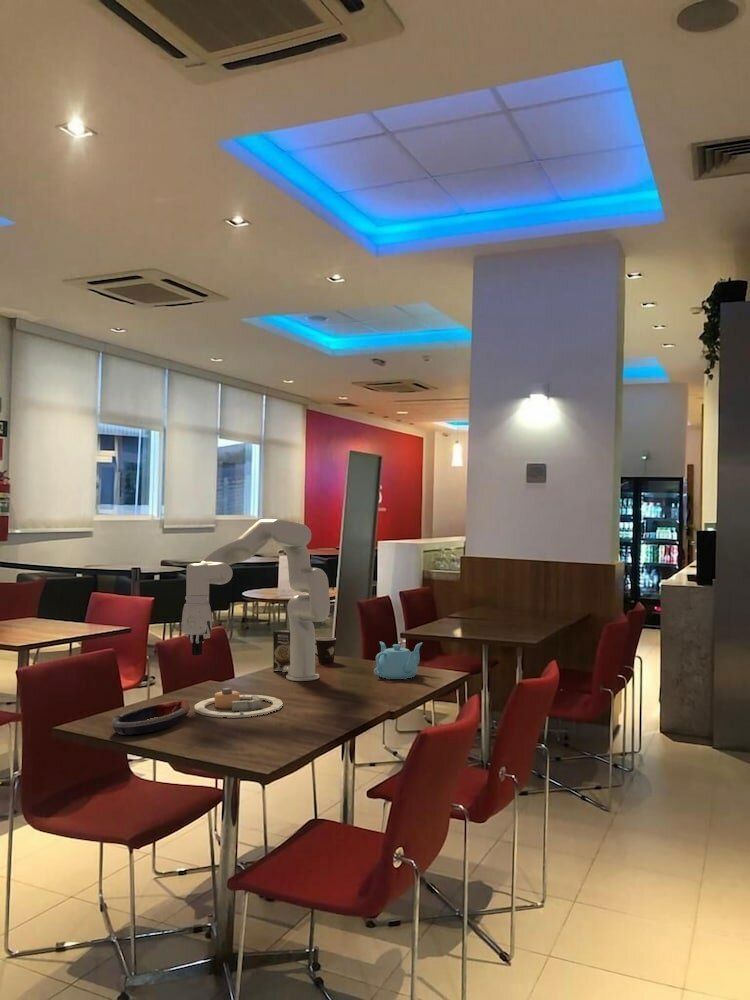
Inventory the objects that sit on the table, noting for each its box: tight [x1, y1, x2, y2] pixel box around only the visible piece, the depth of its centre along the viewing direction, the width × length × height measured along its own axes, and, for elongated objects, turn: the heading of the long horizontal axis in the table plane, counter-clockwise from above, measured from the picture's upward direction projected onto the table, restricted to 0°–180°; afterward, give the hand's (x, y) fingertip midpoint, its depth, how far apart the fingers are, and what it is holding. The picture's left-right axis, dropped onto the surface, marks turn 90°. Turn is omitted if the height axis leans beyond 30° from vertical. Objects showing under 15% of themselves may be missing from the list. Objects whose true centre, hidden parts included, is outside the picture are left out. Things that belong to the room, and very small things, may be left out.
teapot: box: [373, 641, 423, 680], centre depth 314 cm, size 17×19×12 cm
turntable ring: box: [194, 694, 284, 719], centre depth 265 cm, size 28×28×1 cm
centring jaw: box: [231, 694, 262, 713], centre depth 263 cm, size 6×12×3 cm, turn 148°
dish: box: [111, 699, 190, 736], centre depth 244 cm, size 16×31×5 cm, turn 153°
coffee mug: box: [315, 636, 337, 665], centre depth 343 cm, size 12×9×10 cm
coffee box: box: [272, 629, 290, 672], centre depth 326 cm, size 9×6×16 cm
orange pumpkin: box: [214, 687, 241, 709], centre depth 268 cm, size 8×8×6 cm
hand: (196, 654), depth 275 cm, fingers closed
